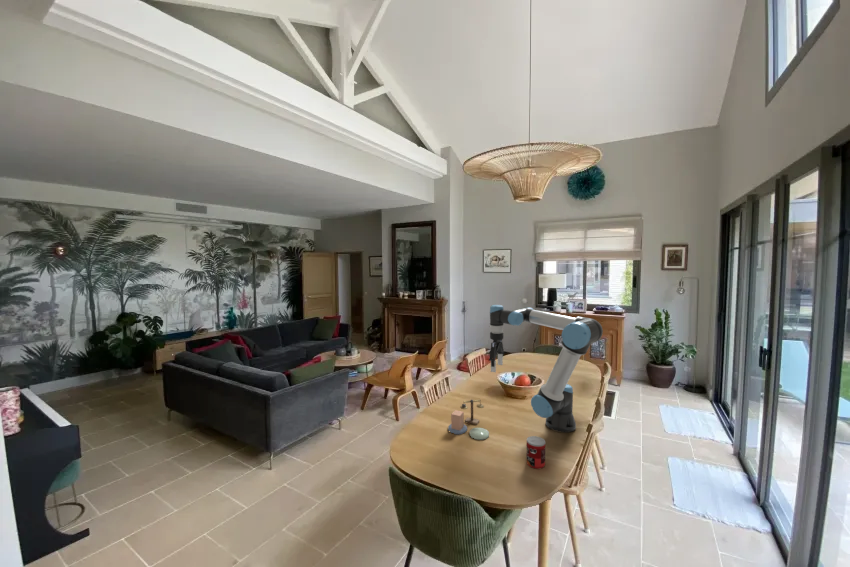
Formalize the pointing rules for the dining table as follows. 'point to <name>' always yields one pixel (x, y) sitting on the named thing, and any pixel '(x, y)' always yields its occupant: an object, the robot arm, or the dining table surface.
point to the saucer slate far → (457, 430)
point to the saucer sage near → (479, 433)
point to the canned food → (535, 452)
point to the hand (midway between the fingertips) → (496, 368)
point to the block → (457, 420)
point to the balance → (471, 420)
